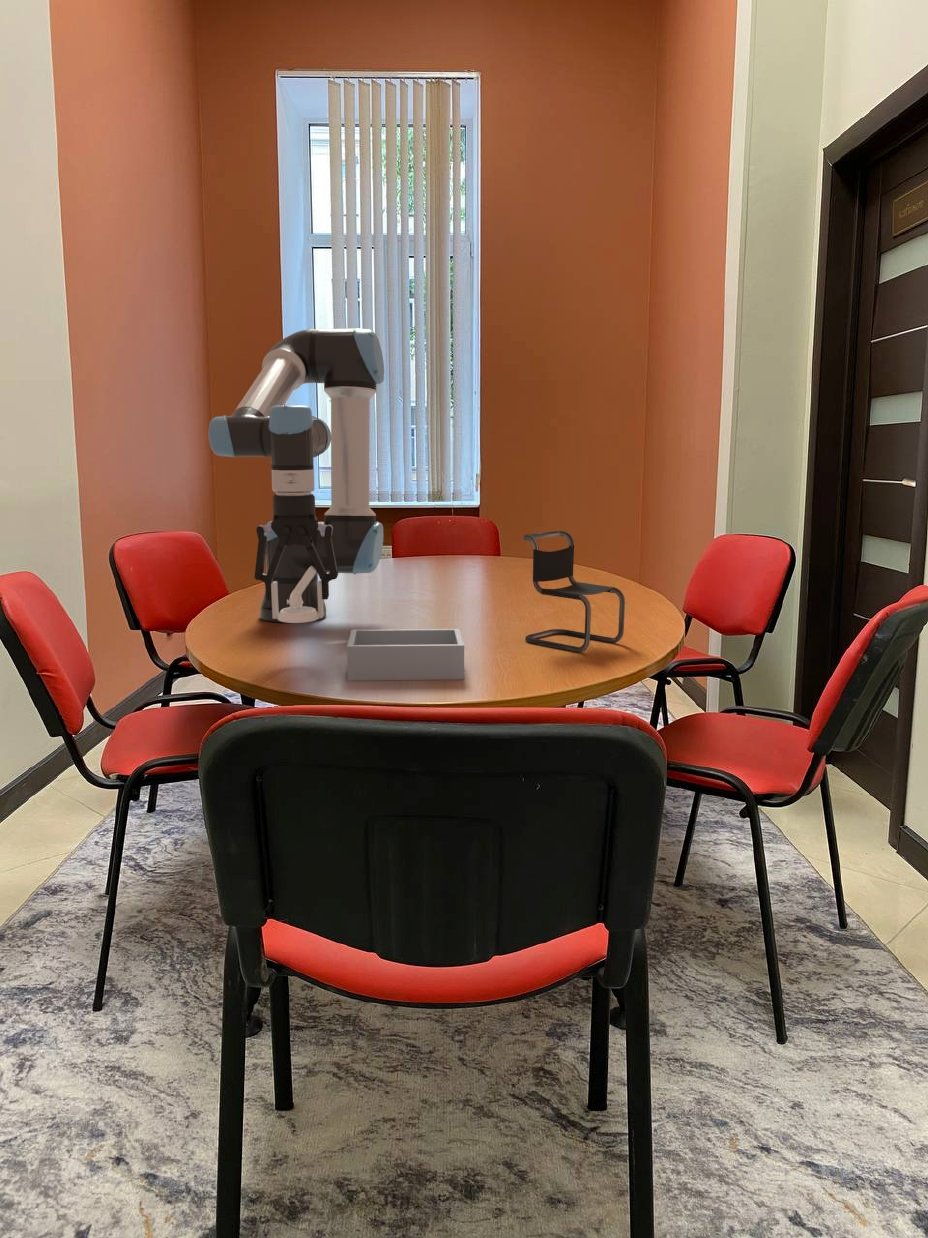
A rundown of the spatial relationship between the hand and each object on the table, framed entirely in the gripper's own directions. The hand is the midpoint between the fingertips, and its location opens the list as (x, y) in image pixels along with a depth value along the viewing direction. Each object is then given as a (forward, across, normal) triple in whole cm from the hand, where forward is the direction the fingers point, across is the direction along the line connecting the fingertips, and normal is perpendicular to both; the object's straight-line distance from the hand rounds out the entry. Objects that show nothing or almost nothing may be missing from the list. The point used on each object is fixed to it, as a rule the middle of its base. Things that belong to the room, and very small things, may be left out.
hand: (298, 616), depth 168 cm
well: (+8, +20, -9) cm, 23 cm away
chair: (+9, +54, +12) cm, 56 cm away
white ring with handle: (+1, 0, 0) cm, 1 cm away
